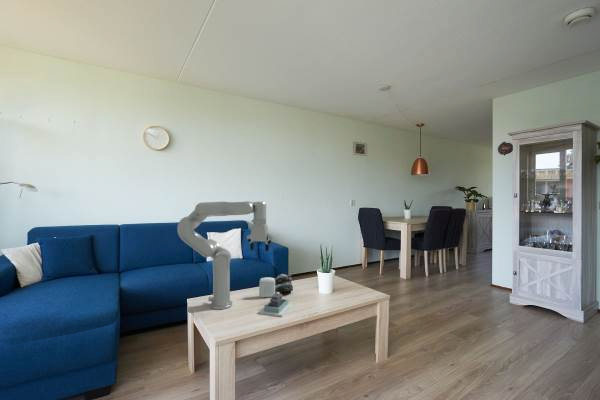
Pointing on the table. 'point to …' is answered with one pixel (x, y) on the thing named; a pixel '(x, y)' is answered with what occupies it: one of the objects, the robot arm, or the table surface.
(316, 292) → the table surface
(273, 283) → the photo printer
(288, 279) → the dark grey rough lump
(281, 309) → the dock
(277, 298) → the servo block
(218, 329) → the table surface
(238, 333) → the table surface
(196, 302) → the table surface
